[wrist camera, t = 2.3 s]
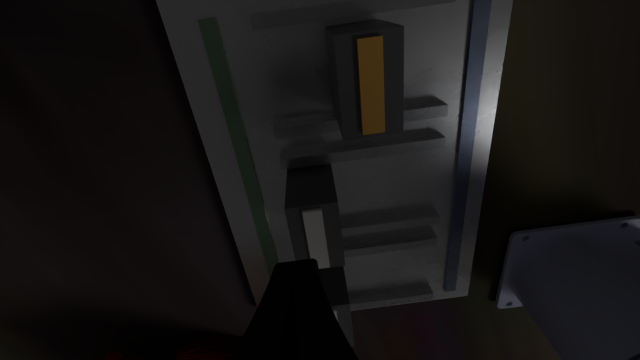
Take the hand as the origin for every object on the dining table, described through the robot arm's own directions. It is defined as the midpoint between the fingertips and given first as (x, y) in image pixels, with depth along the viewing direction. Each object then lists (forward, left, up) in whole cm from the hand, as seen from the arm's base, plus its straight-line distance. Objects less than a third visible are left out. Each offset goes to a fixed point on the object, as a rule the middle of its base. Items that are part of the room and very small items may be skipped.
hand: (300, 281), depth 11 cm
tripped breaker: (-4, -5, -9) cm, 10 cm away
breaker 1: (-1, +2, -9) cm, 9 cm away
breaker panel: (-3, +2, -10) cm, 11 cm away
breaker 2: (-1, +9, -9) cm, 12 cm away
